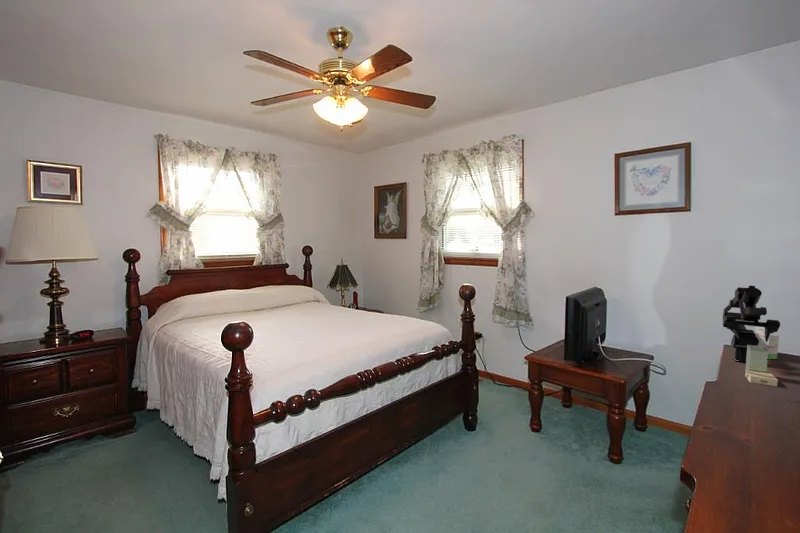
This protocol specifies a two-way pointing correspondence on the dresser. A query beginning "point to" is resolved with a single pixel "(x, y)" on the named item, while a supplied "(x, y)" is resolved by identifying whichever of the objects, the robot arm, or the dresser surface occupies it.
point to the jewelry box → (761, 378)
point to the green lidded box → (756, 358)
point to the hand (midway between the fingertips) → (752, 339)
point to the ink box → (768, 342)
